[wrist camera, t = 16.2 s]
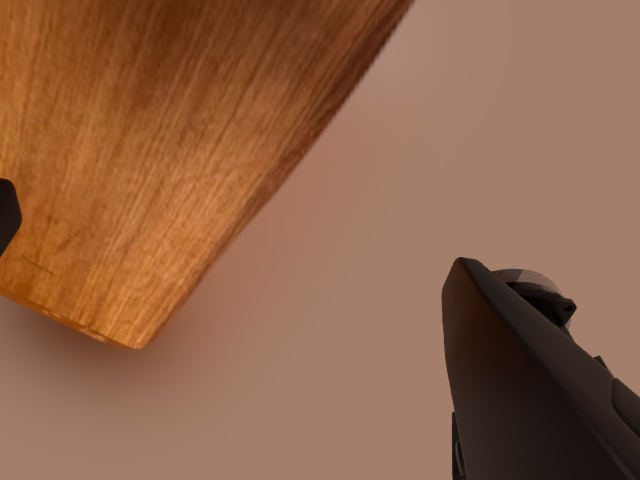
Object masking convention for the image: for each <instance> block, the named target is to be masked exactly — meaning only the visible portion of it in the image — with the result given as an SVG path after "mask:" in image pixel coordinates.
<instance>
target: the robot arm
mask: <svg viewBox="0 0 640 480" xmlns="http://www.w3.org/2000/svg"><path fill="white" fill-rule="evenodd" d="M21 222H22V214H21V210H20V206H19V202H18V198H17V194H16V190H15V187H14V185H13V183H12V182H11V181H9V180H8V179H3V178H0V257H1V256H2V254H3V253H4V251H5V250H6V248H7V246H8V245H9V243H10V242H11V240H12V239H13V237H14V236H15V234H16V232H17V231H18V229H19V228H20V225H21ZM567 306H568V307H567ZM576 308H577V307H576V305H575V303H574V301H573V300H571V299H567V298H561V297H555V296H550V295H544V294H538V293H532V292H526V291H520V290H514V289H511V288H510V287H509V286H508V285H506V284H505V283H504V282H503V281H502V280H501V279H499V278H498V277H497V276H496V275H495V274H493V273H492V272H491V271H490V270H489V269H488V268H486V267H485V266H484V265H483V264H482V263H480V262H479V261H478V260H475V259H469V258H463V257H459V258H457V259H456V260H455V261H454V263H453V266H452V268H451V270H450V272H449V275H448V277H447V280H446V281H445V284H444V286H443V290H442V314H443V329H444V330H443V331H444V346H445V359H446V366H447V373H448V378H449V382H450V388H451V394H452V400H453V405H454V410H455V411H454V412H452V477H453V480H640V397H639V396H638V395H636V394H635V393H634V392H633V391H632V390H630V389H629V388H628V387H627V386H626V385H624V384H623V383H622V382H621V381H620V380H619V379H617V378H615V377H614V376H613V374H612V373H611V371H610V370H609V368H608V367H607V365H606V364H605V362H604V361H603V359H602V358H601V356H597V357H594V358H593V357H591V356H590V355H589V354H588V353H587V352H586V351H584V350H583V349H582V348H581V347H580V346H578V345H577V344H576V343H575V342H574V340H573V338H572V336H571V335H570V333H569V331H568V329H567V327H566V326H565V325H566V324H567V322H568V321H569V319H570V318H571V316H572V315H573V313H574V312H575V310H576Z"/></svg>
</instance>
